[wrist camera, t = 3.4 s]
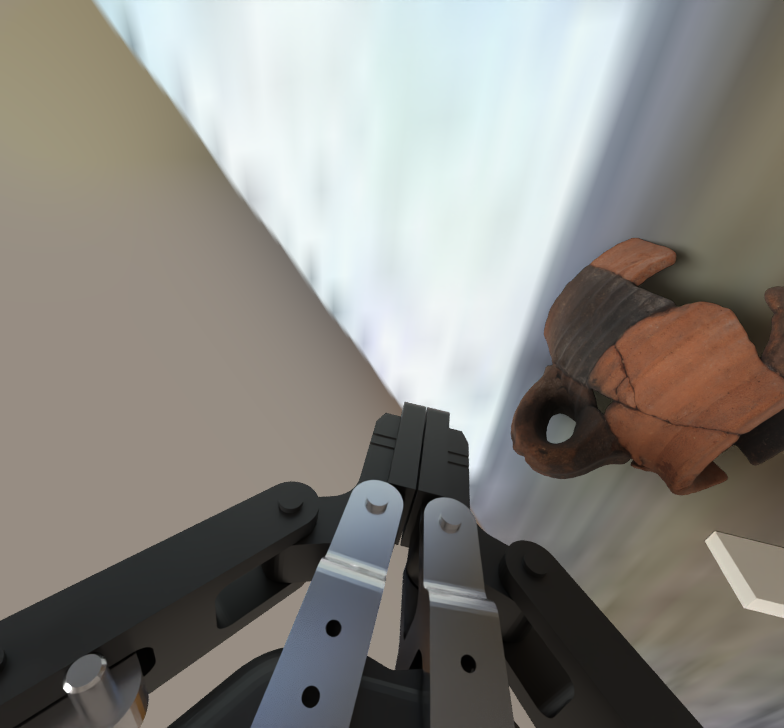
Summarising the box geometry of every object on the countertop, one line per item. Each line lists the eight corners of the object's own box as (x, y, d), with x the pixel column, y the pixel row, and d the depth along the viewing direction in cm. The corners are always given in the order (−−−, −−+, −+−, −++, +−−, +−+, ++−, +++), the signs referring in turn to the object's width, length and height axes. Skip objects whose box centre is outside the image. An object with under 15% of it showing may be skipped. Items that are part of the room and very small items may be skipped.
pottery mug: (698, 167, 16) (976, 281, 10) (690, 308, 22) (853, 422, 17) (441, 349, 18) (555, 525, 12) (505, 427, 25) (597, 562, 19)
